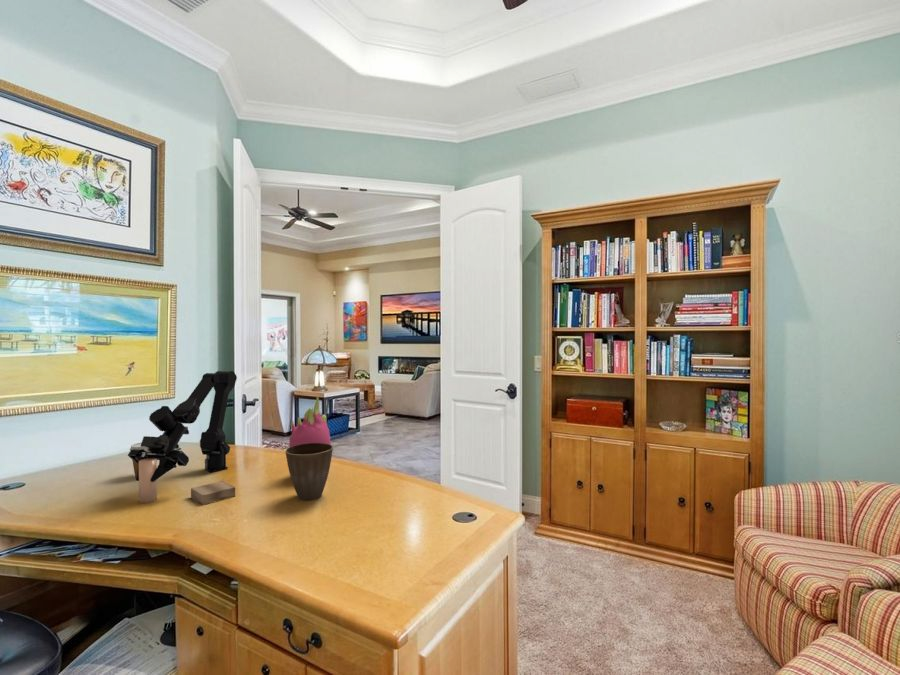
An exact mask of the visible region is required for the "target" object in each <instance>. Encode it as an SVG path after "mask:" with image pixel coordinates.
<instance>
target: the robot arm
mask: <svg viewBox="0 0 900 675" xmlns="http://www.w3.org/2000/svg"><path fill="white" fill-rule="evenodd" d="M201 377H202V378H201V380H200V381H199V382H198V384H197V385H196V386H195V388H194V389H193V390H192V392H191V394H190V395H189V396H188V398H187V399H186V400H184V401H183V402H181V403H179V404H178V405H177V406H176V407H175V408H174V409H173V410H171V407H169V406H167V405H161V407H160V408H158V409H156V410H154V411H153V412H151V413H150V415H149V416H148V420H149V422H151V423H152V424H153V425H154V426H155V428H157V429H158V430H159V431H160V432H163V433H162V434H160V435H159V436H149V435H148V436H147V435H146V436H143V437H142V440H141V442H140V443H141V446H142V447H143V446H144V447H148V450H149V451H151V454H150V453H147V452H146V451H145V450H144V449H132V450H131V451H130V450H129V453H128V454H127V456H128V458H130V459H131V460H133V461H135V462H136V463H137V464H139V460H142V459H146V458H156V459H157V461H158V464H157V469H156V470H155V472H154V474H153V476H152V478H151V480H150V481H151V482H154V481H155V480H157V481H158V479H159V478H161V477H162V476H164V475H165V474H166V473H168V472H169V471H171V470H173V469H175V468H177V465H178V466H179V467H186V466H187V465H188V463H189V462H190V458H189V456H188V455H187V454H186V453H184V452H183V450H177V449H179V447H180V445H179V442H180V440H181V439H182V437H183V435H189V434H190V430H189V428H188V426H185V424H186V425H187V424H188V425H189V424H190V425H191V424H194V423H195V422H196V421H197V419H198V417H199V415H200V413H201V405H202V404H203V403H204V401H205V399H206V398H207V397H208V395H209V394H210V392H211V391H212V390H214V391H215V392H214V396H213V403H212V408H211V412H210V413H211V414H210V418H209V419H210V420H209V423H208V428H207V429H206V430H205V431H202V432H201V434H200V440H199V447H200V450H201V454H202V455H205V459H204V470H205V471H206V472H209V473H213V472H218V471H219V472H220V471H223V470H228V468H229V467H227V458H226V456H227V455H228V454H229V453H230V451H231V446H230V445H229V443H227V442H226V434H225V432H224V430H223V426H224V423H225V417H226V411H227V407H228V402H229V395H230V393H231V391H232V390H233V389H234V388H235V385H236V382H237V379H238V377H237V374H236V373H235V371H233V370H217V371H216V372H214V373H213V372H206V373H204V374H203V375H202V376H201ZM175 449H176V450H175ZM133 461H132V462H133ZM135 480H136V482H139V466H138V472H137V477H136V479H135Z"/></svg>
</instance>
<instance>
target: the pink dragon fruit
mask: <svg viewBox="0 0 900 675" xmlns="http://www.w3.org/2000/svg"><path fill="white" fill-rule="evenodd" d="M290 424H291V425H290V428H291V435H289V446H288V448H289V447H292V446H295V445H299V444H306V443H326V444H330V445H332V442H331V435H330V429H329V427H328V422H327V416H326V415H325V414H321V411H320V399H319V396H316V400H315V403H314V406H313V407H311V408H308V409H307V410H306V411H305V412H304V415H303V420H302V419H301V417H297V425H296V426H295V423H294V420H292V421H291V423H290Z"/></svg>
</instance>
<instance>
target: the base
mask: <svg viewBox="0 0 900 675" xmlns="http://www.w3.org/2000/svg"><path fill="white" fill-rule="evenodd" d="M232 496H234V497H236V487H235V486H234V485H232V484H230V483H228V482H226V481H224V480H220V481H216V482H211V483H207V484H203V485H199V486H195V487H191V488H190V498H191V499H193V500H194V501H196V502H198V503H199V504H200V505H202V506H203V504H204V505H207V503H208V504H210V503H211V502H212V503H215V502H214V501H216V502H218V500H219V501H222V500H221V499H223V500H226V499H225V498H227V499H230V498H233V497H232ZM229 497H230V498H229Z"/></svg>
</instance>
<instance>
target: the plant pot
mask: <svg viewBox="0 0 900 675" xmlns="http://www.w3.org/2000/svg"><path fill="white" fill-rule="evenodd" d="M333 450H334V446H333V445H332V444H331V445H330V444H326V443H306V444H299V445H295V446H292V447H289V446H288V447H287V448H286V449H285V456H286V462H287V468H288V472H289V476H290V479H291V482H292V485H293V488H294V491H295V493H296V495H297V498H298V499H299V500H301V501H313V500H317V499H319V498H321V497H322V495H323V492H324V489H325V486H326V484H327V481H328V477H329V473H330V472H329V471H330V467H331V463H332V457H333Z"/></svg>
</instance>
